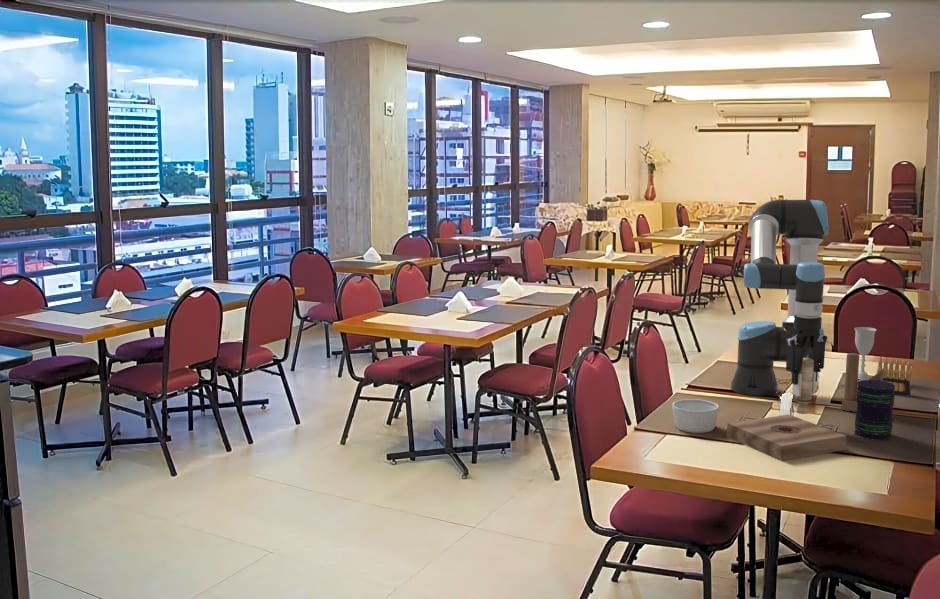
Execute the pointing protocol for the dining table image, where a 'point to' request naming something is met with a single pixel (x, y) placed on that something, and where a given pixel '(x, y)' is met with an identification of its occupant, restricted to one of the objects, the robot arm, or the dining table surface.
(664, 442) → the dining table surface
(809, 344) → the robot arm
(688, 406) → the ramekin
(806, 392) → the beech leg
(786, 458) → the walnut board
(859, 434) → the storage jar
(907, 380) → the ammunition clip
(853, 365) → the wooden peg block
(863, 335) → the chalice
